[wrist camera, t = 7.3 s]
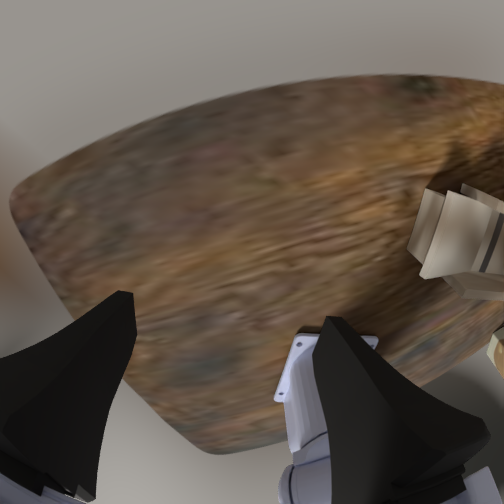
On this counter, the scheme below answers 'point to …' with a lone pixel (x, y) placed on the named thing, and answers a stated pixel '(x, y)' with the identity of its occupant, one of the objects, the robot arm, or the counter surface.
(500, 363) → the skincare box
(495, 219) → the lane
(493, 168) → the counter surface
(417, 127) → the counter surface
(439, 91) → the counter surface
